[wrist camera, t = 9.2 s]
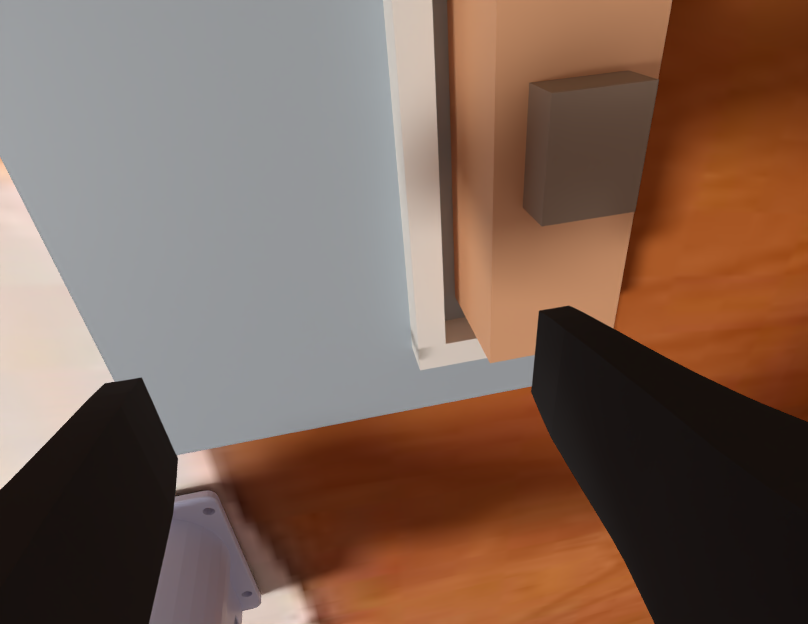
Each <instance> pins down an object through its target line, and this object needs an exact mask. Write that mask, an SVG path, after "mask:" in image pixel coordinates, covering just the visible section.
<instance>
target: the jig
mask: <svg viewBox="0 0 808 624" xmlns="http://www.w3.org/2000/svg"><path fill="white" fill-rule="evenodd" d="M0 157H1V159H2V161H3V163H4V165H5V167H6V169H7V171H8V173H9V175H10V177H11V179H12V181H13V183H14V185H15V187H16V189H17V191H18V193H19V194H20V196H21V198H22V200H23V202H24V204H25V206H26V208H27V210H28V212H29V214H30V216H31V218H32V220H33V222H34V224H35V226H36V228H37V230H38V232H39V234H40V236H41V238H42V240H43V242H44V244H45V246H46V248H47V250H48V252H49V253H50V255H51V257H52V259H53V261H54V263H55V265H56V267H57V269H58V271H59V273H60V275H61V277H62V279H63V281H64V283H65V285H66V287H67V289H68V291H69V293H70V295H71V297H72V299H73V301H74V303H75V305H76V307H77V309H78V311H79V313H80V314H81V316H82V318H83V320H84V322H85V324H86V326H87V328H88V330H89V332H90V334H91V336H92V338H93V340H94V342H95V344H96V346H97V348H98V350H99V352H100V354H101V356H102V358H103V360H104V362H105V364H106V366H107V368H108V370H109V372H110V373H111V375H112V377H113V379H114V381H115V382H117V381H123V380H129V379H135V378H141V377H142V379H143V381H144V383H145V386H146V388H147V390H148V392H149V395H150V397H151V399H152V401H153V404H154V406H155V408H156V410H157V413H158V415H159V417H160V419H161V422H162V424H163V426H164V428H165V431H166V433H167V435H168V437H169V440H170V442H171V444H172V446H173V449H174V451H175V453H176V455H180V454H185V453H190V452H196V451H201V450H206V449H211V448H216V447H221V446H226V445H232V444H237V443H242V442H247V441H252V440H257V439H262V438H268V437H273V436H278V435H283V434H288V433H293V432H298V431H304V430H309V429H314V428H319V427H324V426H329V425H334V424H340V423H345V422H350V421H355V420H360V419H365V418H370V417H376V416H381V415H386V414H391V413H396V412H401V411H407V410H412V409H417V408H422V407H427V406H432V405H437V404H443V403H448V402H453V401H458V400H463V399H468V398H473V397H479V396H484V395H489V394H494V393H499V392H504V391H509V390H515V389H520V388H525V387H530V386H532V379H533V368H534V358H535V355H532V356H526V357H521V358H516V359H511V360H505V361H500V362H495V363H490V362H489V360H488V359H487V357H486V355H485V353H484V351H483V349H482V347H481V345H480V343H479V341H478V339H477V338H476V336H475V334H474V332H473V330H472V328H471V326H470V324H469V322H468V320H467V319H466V317H465V315H464V313H463V311H462V309H461V307H460V305H459V303H458V301H457V299H456V298H455V278H454V241H453V204H452V167H451V130H450V93H449V56H448V18H447V0H0Z"/></svg>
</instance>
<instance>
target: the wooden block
mask: <svg viewBox="0 0 808 624" xmlns="http://www.w3.org/2000/svg"><path fill="white" fill-rule="evenodd" d="M671 5H672V0H447V18H448V56H449V93H450V130H451V167H452V204H453V241H454V278H455V298H456V299H457V301H458V303H459V305H460V307H461V309H462V311H463V313H464V315H465V317H466V319H467V320H468V322H469V324H470V326H471V328H472V330H473V332H474V334H475V336H476V338H477V339H478V341H479V343H480V345H481V347H482V349H483V351H484V353H485V355H486V357H487V359H488V360H489V362H490V363H495V362H500V361H505V360H511V359H516V358H521V357H526V356H532V355H535V347H536V336H537V325H538V315H539V311H540V310H546V309H552V308H557V307H563V306H571V307H574V308H576V309H578V310H580V311H582V312H584V313H586V314H587V315H589V316H591V317H593V318H595V319H597V320H599V321H600V322H602V323H604V324H606V325H608V326H610V327H611V328H614V322H615V317H616V311H617V305H618V300H619V294H620V289H621V283H622V278H623V272H624V266H625V261H626V255H627V250H628V244H629V239H630V233H631V227H632V222H633V216H634V212H635V210H636V204H637V199H638V193H639V188H640V182H641V177H642V171H643V166H644V160H645V154H646V149H647V143H648V138H649V132H650V127H651V121H652V116H653V110H654V105H655V99H656V94H657V88H658V82H659V79H658V77H659V72H660V66H661V61H662V55H663V49H664V44H665V38H666V33H667V27H668V22H669V16H670V10H671Z"/></svg>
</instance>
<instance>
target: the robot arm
mask: <svg viewBox="0 0 808 624" xmlns="http://www.w3.org/2000/svg"><path fill="white" fill-rule="evenodd" d="M531 392H532V395H533V397H534V400H535V402H536V404H537V407H538V409H539V412H540V414H541V416H542V419H543V421H544V423H545V425H546V427H547V430H548V432H549V434H550V436H551V438H552V440H553V442H554V443H555V445H556V447H557V448H558V450H559V452H560V453H561V455H562V457H563V458H564V460H565V462H566V464H567V465H568V467H569V469H570V470H571V472H572V474H573V475H574V477H575V478H576V480H577V482H578V483H579V485H580V487H581V488H582V490H583V492H584V493H585V495H586V497H587V498H588V500H589V501H590V503H591V505H592V506H593V508H594V510H595V511H596V513H597V515H598V516H599V518H600V520H601V521H602V523H603V525H604V526H605V528H606V529H607V531H608V533H609V534H610V536H611V538H612V539H613V541H614V543H615V545H616V547H617V548H618V550H619V552H620V554H621V556H622V557H623V559H624V561H625V563H626V565H627V567H628V569H629V571H630V573H631V575H632V577H633V579H634V582H635V584H636V586H637V588H638V590H639V592H640V594H641V596H642V598H643V600H644V602H645V604H646V606H647V609H648V611H649V613H650V615H651V617H652V619H653V621H654V623H655V624H808V422H806V421H804V420H801V419H799V418H796V417H794V416H791V415H789V414H786V413H784V412H781V411H779V410H776V409H774V408H772V407H769V406H767V405H764V404H762V403H759V402H757V401H755V400H753V399H750V398H748V397H746V396H744V395H741V394H739V393H737V392H735V391H733V390H731V389H729V388H726V387H724V386H722V385H720V384H718V383H716V382H714V381H712V380H710V379H708V378H706V377H703V376H701V375H699V374H697V373H695V372H693V371H691V370H689V369H687V368H685V367H683V366H681V365H680V364H678V363H676V362H674V361H672V360H670V359H668V358H666V357H664V356H662V355H661V354H659V353H657V352H655V351H653V350H651V349H649V348H648V347H646V346H644V345H642V344H640V343H638V342H637V341H635V340H633V339H631V338H629V337H628V336H626V335H624V334H622V333H620V332H619V331H617V330H615V329H613V328H611V327H610V326H608V325H606V324H604V323H602V322H600V321H599V320H597V319H595V318H593V317H591V316H589V315H587V314H586V313H584V312H582V311H580V310H578V309H576V308H574V307H571V306H563V307H557V308H552V309H546V310H540V311H539V315H538V325H537V336H536V347H535V358H534V368H533V379H532V390H531ZM177 464H178V458H177V455H176V453H175V451H174V449H173V446H172V444H171V442H170V440H169V437H168V435H167V433H166V431H165V428H164V426H163V424H162V422H161V419H160V417H159V415H158V413H157V410H156V408H155V406H154V404H153V401H152V399H151V397H150V395H149V392H148V390H147V388H146V386H145V383H144V381H143V379H142V377H141V378H135V379H129V380H123V381H117V382H111V383H105V384H104V385H103V386H102V387H101V388H100V389H98V390H97V391H96V392H95V393H94V394H93V395H92V396H91V397H90V398H89V399H88V400H87V401H86V402H85V403H84V404H83V405H82V406H81V407H80V408H79V410H78V411H77V412H76V413H75V414H74V415H73V416H72V417H71V418H70V419H69V420H68V421H67V422H66V423H65V424H64V425H63V426H62V427H61V428H60V429H59V430H58V431H57V433H56V434H55V435H54V436H53V437H52V438H51V439H50V440H49V441H48V442H47V443H46V444H45V445H44V446H43V447H42V448H41V449H40V450H39V451H38V452H37V453H36V454H35V455H34V456H33V457H32V458H31V459H30V460H29V461H28V462H27V463H26V465H25V466H24V467H23V468H22V469H21V470H20V471H19V472H18V473H17V474H16V475H15V476H14V477H13V478H12V479H11V480H10V481H9V482H8V483H7V484H6V485H5V486H4V487H3V488H2V489H1V490H0V624H242V611H244V610H249V609H253V608H256V607H258V606H259V605H260V604H261V594H260V592H259V590H258V587H257V585H256V583H255V580H254V578H253V576H252V573H251V571H250V569H249V566H248V564H247V562H246V559H245V557H244V555H243V553H242V550H241V548H240V546H239V543H238V541H237V539H236V536H235V534H234V532H233V529H232V527H231V525H230V522H229V520H228V518H227V515H226V513H225V511H224V509H223V506H222V504H221V502H220V499H219V497H218V495H217V494H216V493H215V492H213V491H209V490H207V491H200V492H195V493H190V494H185V495H180V496H175V491H176V478H177Z"/></svg>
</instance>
